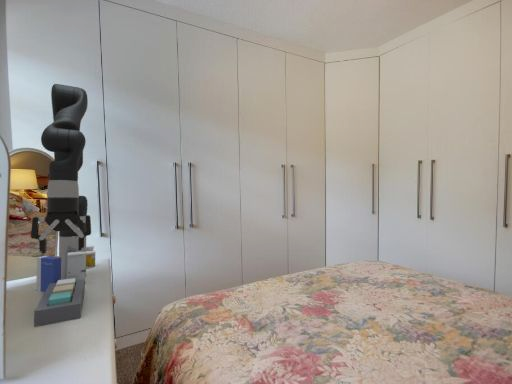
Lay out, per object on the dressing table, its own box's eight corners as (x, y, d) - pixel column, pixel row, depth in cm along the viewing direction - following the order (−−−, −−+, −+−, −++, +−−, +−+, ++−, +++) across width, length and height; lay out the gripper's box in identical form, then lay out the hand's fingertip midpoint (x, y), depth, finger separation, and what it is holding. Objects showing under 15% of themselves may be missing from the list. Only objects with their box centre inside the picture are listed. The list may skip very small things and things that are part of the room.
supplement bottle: (78, 268, 122) (78, 247, 123) (87, 265, 128) (87, 244, 128) (89, 269, 122) (89, 247, 122) (97, 265, 127) (98, 245, 127)
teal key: (51, 306, 77) (51, 294, 77) (71, 303, 80) (71, 291, 80) (48, 312, 73) (48, 299, 73) (69, 309, 75) (70, 296, 76)
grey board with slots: (49, 295, 90) (49, 283, 90) (84, 290, 95) (84, 279, 95) (34, 326, 70) (34, 311, 70) (80, 318, 75) (80, 303, 75)
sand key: (54, 298, 83) (54, 286, 83) (73, 295, 86) (73, 284, 86) (52, 303, 79) (52, 291, 79) (72, 300, 82) (72, 288, 82)
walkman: (61, 290, 95) (61, 256, 95) (53, 292, 93) (53, 258, 93) (44, 287, 97) (44, 254, 98) (36, 290, 95) (36, 256, 95)
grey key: (57, 290, 89) (58, 280, 89) (75, 288, 92) (75, 278, 92) (55, 295, 85) (56, 284, 85) (74, 292, 88) (74, 282, 88)
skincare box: (65, 288, 97) (66, 254, 97) (66, 284, 101) (66, 252, 101) (86, 285, 101) (86, 252, 101) (85, 282, 104) (86, 250, 104)
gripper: (92, 196, 86) (91, 247, 86) (35, 196, 79) (34, 251, 79) (91, 196, 80) (90, 251, 79) (29, 196, 73) (28, 256, 72)
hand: (62, 251), depth 79 cm, fingers open, 8 cm apart
